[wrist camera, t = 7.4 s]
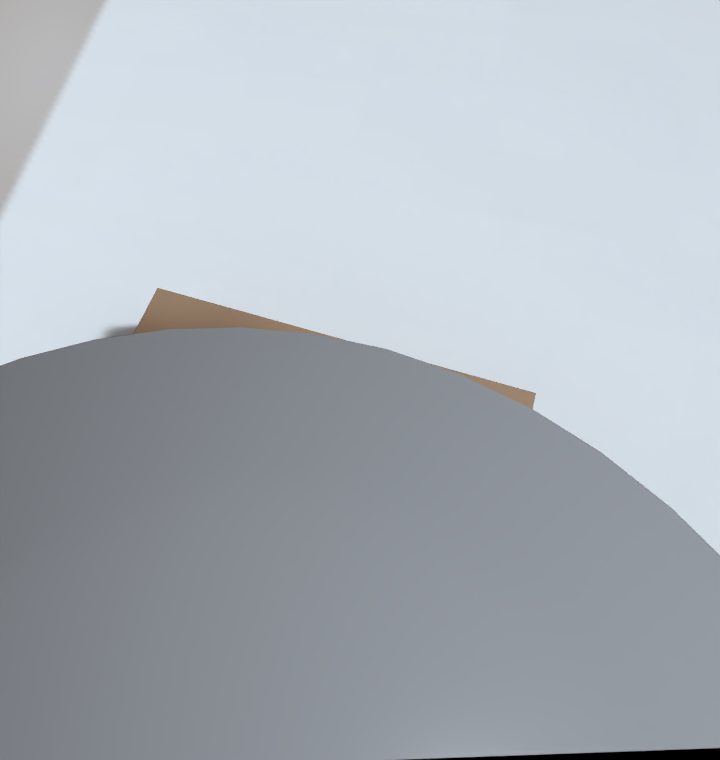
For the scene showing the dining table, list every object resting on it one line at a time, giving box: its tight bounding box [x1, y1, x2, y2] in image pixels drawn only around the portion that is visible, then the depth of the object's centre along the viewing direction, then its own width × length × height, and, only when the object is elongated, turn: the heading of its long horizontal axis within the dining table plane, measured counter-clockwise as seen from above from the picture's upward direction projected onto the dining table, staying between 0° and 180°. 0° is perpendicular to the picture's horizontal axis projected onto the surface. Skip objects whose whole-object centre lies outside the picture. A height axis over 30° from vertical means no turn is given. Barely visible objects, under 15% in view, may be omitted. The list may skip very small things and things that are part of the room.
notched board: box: [134, 288, 536, 409], centre depth 18 cm, size 20×14×2 cm
